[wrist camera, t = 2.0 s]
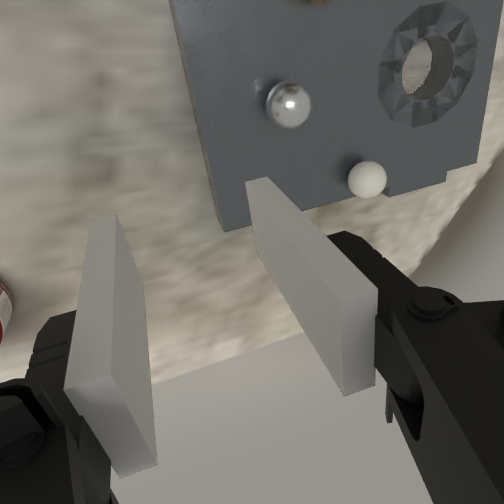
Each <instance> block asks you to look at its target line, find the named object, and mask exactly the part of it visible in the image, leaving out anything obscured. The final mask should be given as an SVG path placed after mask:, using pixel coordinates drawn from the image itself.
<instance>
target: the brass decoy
mask: <svg viewBox="0 0 504 504" xmlns="http://www.w3.org/2000/svg"><path fill="white" fill-rule="evenodd" d="M311 1H313V2H315V3H328V2H330V1H333V0H311Z"/></svg>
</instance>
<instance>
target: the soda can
mask: <svg viewBox="0 0 504 504" xmlns="http://www.w3.org/2000/svg"><path fill="white" fill-rule="evenodd" d="M12 311H13V303H12V299H11V296H10V294H9V292H8V291H7V289H6V288H5V287H4V286H3V285H2V284H1V283H0V343H1V341H2V338H3V336H4V333H5V331H6V328H7V326H8V323H9V320H10V318H11V315H12Z"/></svg>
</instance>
